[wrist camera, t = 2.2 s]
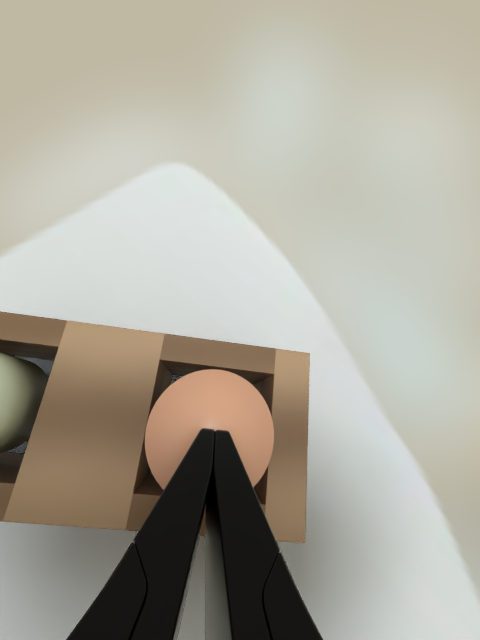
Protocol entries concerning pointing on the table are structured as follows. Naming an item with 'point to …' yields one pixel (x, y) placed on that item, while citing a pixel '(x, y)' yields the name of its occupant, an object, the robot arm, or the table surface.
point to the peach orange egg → (209, 421)
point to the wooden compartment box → (136, 423)
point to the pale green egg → (19, 399)
